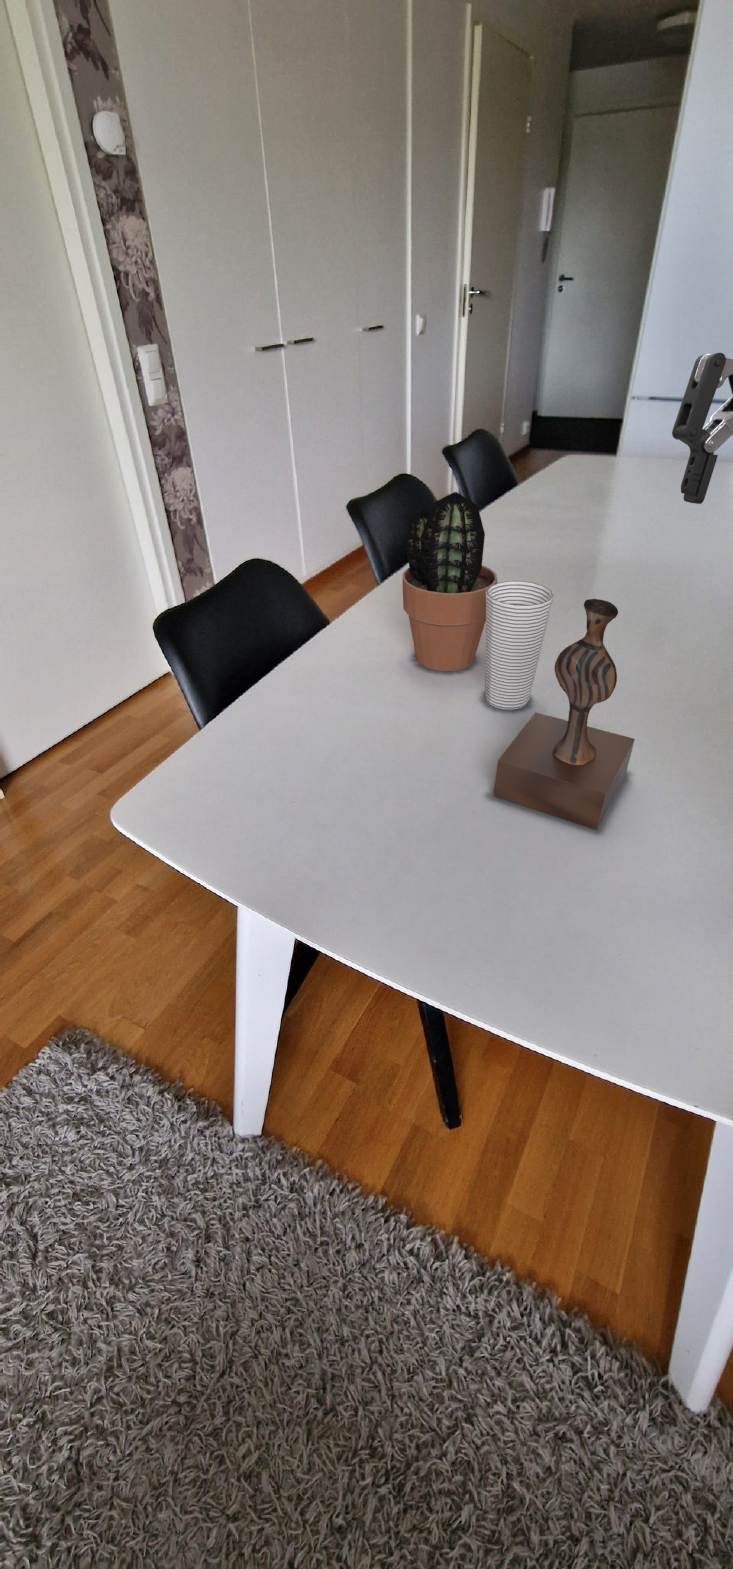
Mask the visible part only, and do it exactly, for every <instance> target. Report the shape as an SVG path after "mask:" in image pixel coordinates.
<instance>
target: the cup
mask: <svg viewBox="0 0 733 1569" xmlns="http://www.w3.org/2000/svg"><path fill="white" fill-rule="evenodd" d="M554 597H555V596H554V593H553V591H552V590H551V589H549V588H548V587H547V586H546V585H542V584H539V583H536V582H533V581H532V582H531V581H525V580H507V581H500V582H497V583H496V584H494V585H491V586H490V587H489V588H488V589H487V590H486V622H485V679H484V680H485V685H484V686H485V687H484V688H485V692H484V693H485V694H484V695H485V700H486V702H487V703H488V704H489V705H490V706H492V707H495V708H497V709H502V710H517V709H521V708H523V707H525V706H526V705H527V704H528V703H529V701H530V697H531V694H532V688H533V685H534V681H535V676H536V673H537V668H538V663H539V659H540V655H541V651H542V647H543V643H544V638H545V635H546V630H547V626H548V623H549V622H548V621H549V618H550V614H551V609H552V605H553V602H554Z"/></svg>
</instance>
